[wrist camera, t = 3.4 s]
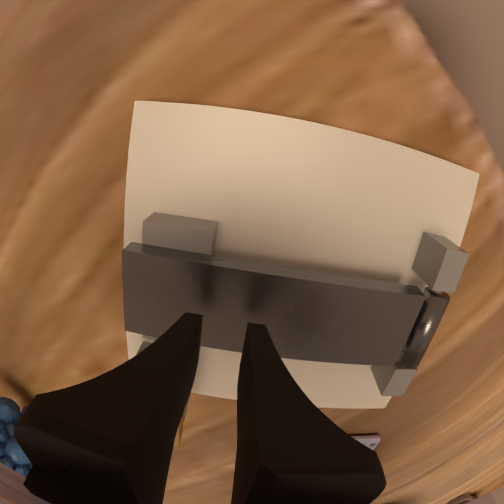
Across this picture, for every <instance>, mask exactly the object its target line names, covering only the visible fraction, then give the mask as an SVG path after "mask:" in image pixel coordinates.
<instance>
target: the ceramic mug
mask: <svg viewBox="0 0 504 504" xmlns="http://www.w3.org/2000/svg"><path fill="white" fill-rule="evenodd" d="M476 498H478V497H477V496H476V495H473V496H471V495H462V496H459V497H457V498H455V499H453V500H452V501H451V502H449V503H448V504H465V503H467V502H469V501H471V500H473V499H476Z"/></svg>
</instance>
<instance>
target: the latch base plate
mask: <svg viewBox="0 0 504 504" xmlns="http://www.w3.org/2000/svg"><path fill="white" fill-rule="evenodd" d="M478 179H479V174H478V173H476V172H474V171H471V170H469V169H466V168H464V167H461V166H459V165H456V164H454V163H451V162H448V161H446V160H443V159H440V158H437V157H435V156H432V155H429V154H426V153H423V152H420V151H417V150H414V149H411V148H408V147H405V146H402V145H399V144H395V143H392V142H389V141H385V140H382V139H378V138H375V137H371V136H368V135H364V134H360V133H356V132H353V131H349V130H345V129H341V128H336V127H332V126H328V125H323V124H319V123H314V122H309V121H305V120H300V119H295V118H289V117H284V116H278V115H273V114H267V113H260V112H254V111H247V110H240V109H232V108H224V107H216V106H207V105H196V104H185V103H171V102H153V101H135V103H134V110H133V118H132V126H131V134H130V143H129V153H128V164H127V177H126V192H125V212H124V248H125V247H126V246H127V245H128V244H130V243H131V242H136V243H142V244H147V245H153V246H159V247H165V248H172V249H178V250H184V251H190V252H196V253H202V254H209V255H216V256H222V257H228V258H235V259H241V260H247V261H253V262H260V263H266V264H273V265H279V266H285V267H292V268H298V269H305V270H311V271H318V272H324V273H331V274H337V275H344V276H351V277H357V278H364V279H371V280H377V281H384V282H391V283H398V284H404V285H411V286H417V287H418V288H419V289H420V290H421V292H422V293H423V292H424V289H425V287H430V288H431V289H432V290H434V291H442V292H449V293H455V290H456V288H457V285H458V283H459V280H460V277H461V275H462V272H463V269H464V267H465V264H466V261H467V258H468V255H469V253H467V252H466V251H465V250H463V249H462V248H460V245H461V242H462V239H463V236H464V232H465V229H466V226H467V222H468V219H469V215H470V211H471V208H472V204H473V200H474V196H475V192H476V188H477V183H478ZM126 333H127V346H128V357H129V360H130V359H131V358H133V357H134V356H136V355H137V354H138V353H140V352H141V351H142V350H144V349H145V348H146V347H148V346H149V345H150V344H152V343H153V342H154V341H155V340H156V339H158V338H156V337H151V336H147V335H142V334H138V333H133V332H129V331H126ZM241 356H242V353H240V352H233V351H227V350H220V349H214V348H208V347H202V346H200V353H199V361H198V366H197V370H196V375H195V380H194V383H193V386H192V389H191V392H190V394H191V393H196V394H201V395H207V396H213V397H219V398H226V399H233V400H237V384H238V376H239V367H240V361H241ZM281 359H282V361H283V362H284V364H285V366H286V368H287V369H288V371H289V372H290V374H291V375H292V377H293V378H294V380H295V381H296V383H297V384H298V385H299V387H300V388H301V389H302V391H303V392H304V393H305V394H306V396H307V397H308V398H309V399H310V400H311V401H312V403H313V404H314V405H315V406H316V407H318V408H358V409H363V408H385V407H386V405H387V404H388V402H389V400H390V399H391V397H392V396H403V394H404V392H405V391H406V389H407V387H408V386H409V384H410V382H411V380H412V379H413V377H414V375H415V373H416V372H417V370H418V369H417V367H416V368H414V369H409V368H405V367H403V366H401V365H400V364H399V363H398V362H397V361H396V363H395V365H394V366H378V365H357V364H341V363H328V362H316V361H305V360H295V359H286V358H281ZM189 398H190V395H189ZM189 398H188V400H187V403H186V406H185V409H184V412H183V422H184V419H185V415H186V410H187V406H188V402H189Z"/></svg>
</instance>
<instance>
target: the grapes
mask: <svg viewBox="0 0 504 504" xmlns="http://www.w3.org/2000/svg"><path fill="white" fill-rule="evenodd" d="M26 408H27V406H26V407H24V408H23V409H22V411H21V413H20V407H19V406H18V405H17V404H16V402H14V401H13V400H12V399H9V398H6V397H0V462H1V463H2V464H4V465H6V466H7V467H9V468H11V469H12V470H14V471H16V472H18V473H19V474H21V475H23V476H25V477H27V475H28V473H29V471H30V469H31V468H32V466H33V465H32V464H31V462H30V461H29V459H28V458H27V456H26V455H25V453H24V452H23V450H22V449H21V447H20V446H19V444H18V443H17V441H16V439H15V436H14V432H13V428H14V426H15V425H16V423H17V422H18V420H19V419H20V417H21V416H22V414H23V412H24V411H25V409H26Z"/></svg>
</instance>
